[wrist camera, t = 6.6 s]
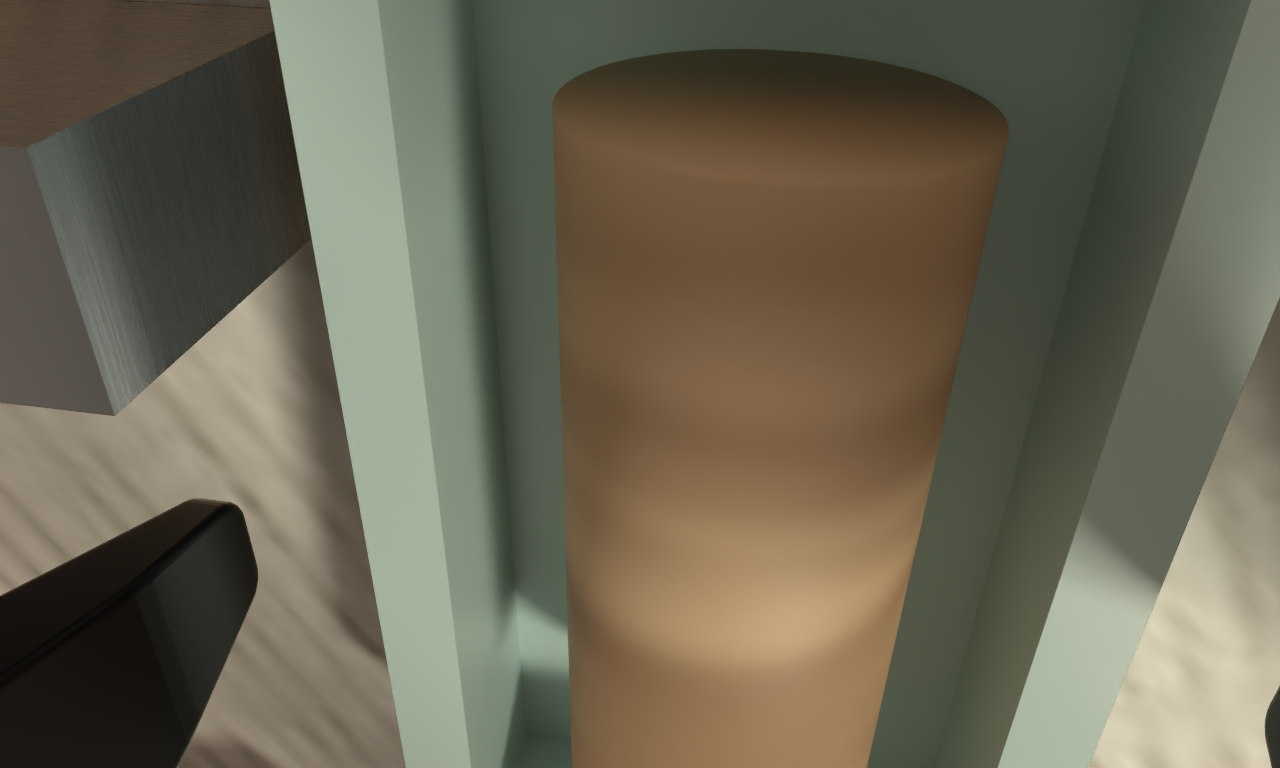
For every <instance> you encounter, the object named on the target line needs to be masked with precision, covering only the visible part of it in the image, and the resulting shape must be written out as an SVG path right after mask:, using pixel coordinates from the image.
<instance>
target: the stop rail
mask: <svg viewBox="0 0 1280 768" xmlns="http://www.w3.org/2000/svg"><path fill="white" fill-rule="evenodd" d="M310 239H312V237H311V232H310V226H309V220H308V215H307V209H306V204H305V198H304V192H303V187H302V181H301V175H300V170H299V164H298V159H297V153H296V147H295V142H294V136H293V130H292V125H291V119H290V114H289V108H288V102H287V97H286V91H285V85H284V80H283V74H282V68H281V63H280V57H279V52H278V46H277V40H276V35H275V29H274V23H273V18H272V12H271V9H267V8H249V7H231V6H213V5H195V4H176V3H158V2H140V1H122V0H0V402H1V403H9V404H18V405H26V406H35V407H43V408H52V409H60V410H69V411H77V412H86V413H94V414H103V415H111V416H115V415H116V414H117V413H119V412H120V411H121V410H122V409H123V408H124V407H125V406H126V405H127V404H129V403H130V402H131V401H132V400H133V399H134V398H135V397H136V396H137V395H139V394H140V393H141V392H142V391H143V390H144V389H145V388H146V387H147V386H148V385H150V384H151V383H152V382H153V381H154V380H155V379H156V378H157V377H158V376H160V375H161V374H162V373H163V372H164V371H165V370H166V369H167V368H168V367H170V366H171V365H172V364H173V363H174V362H175V361H176V360H177V359H178V358H180V357H181V356H182V355H183V354H184V353H185V352H186V351H187V350H188V349H190V348H191V347H192V346H193V345H194V344H195V343H196V342H197V341H198V340H200V339H201V338H202V337H203V336H204V335H205V334H206V333H207V332H208V331H209V330H211V329H212V328H213V327H214V326H215V325H216V324H217V323H218V322H219V321H221V320H222V319H223V318H224V317H225V316H226V315H227V314H228V313H229V312H231V311H232V310H233V309H234V308H235V307H236V306H237V305H238V304H239V303H241V302H242V301H243V300H244V299H245V298H246V297H247V296H248V295H249V294H251V293H252V292H253V291H254V290H255V289H256V288H257V287H258V286H259V285H261V284H262V283H263V282H264V281H265V280H266V279H267V278H268V277H269V276H270V275H272V274H273V273H274V272H275V271H276V270H277V269H278V268H279V267H280V266H282V265H283V264H284V263H285V262H286V261H287V260H288V259H289V258H290V257H292V256H293V255H294V254H295V253H296V252H297V251H298V250H299V249H300V248H302V247H303V246H304V245H305V244H306V243H307V242H308V241H309V240H310Z"/></svg>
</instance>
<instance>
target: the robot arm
mask: <svg viewBox="0 0 1280 768" xmlns="http://www.w3.org/2000/svg"><path fill="white" fill-rule="evenodd" d="M257 583H258V569H257V564H256V560H255V556H254V552H253V549H252V545H251V541H250V537H249V533H248V529H247V526H246V522H245V518H244V515H243V512H242V511H241V509H240V508H239V507H238V506H237V505H235V504H233V503H231V502H225V501H217V500H209V499H201V498H200V499H191V500H188V501H186V502H183V503H181V504H179V505H177V506H176V507H174V508H172V509H170V510H168V511H166V512H164V513H162V514H160V515H158V516H156V517H154V518H152V519H150V520H148V521H146V522H144V523H142V524H140V525H138V526H136V527H134V528H132V529H130V530H129V531H127V532H125V533H123V534H121V535H119V536H117V537H115V538H113V539H111V540H109V541H107V542H105V543H103V544H101V545H99V546H97V547H95V548H93V549H91V550H89V551H87V552H85V553H84V554H82V555H80V556H78V557H76V558H74V559H72V560H70V561H68V562H66V563H64V564H62V565H60V566H58V567H56V568H54V569H52V570H50V571H48V572H46V573H44V574H42V575H40V576H38V577H37V578H35V579H33V580H31V581H29V582H27V583H25V584H23V585H21V586H19V587H17V588H15V589H13V590H11V591H9V592H7V593H5V594H3V595H1V596H0V768H176V767H177V765H178V763H179V761H180V759H181V757H182V756H183V754H184V752H185V750H186V748H187V746H188V744H189V742H190V740H191V738H192V736H193V734H194V732H195V730H196V728H197V725H198V723H199V721H200V719H201V717H202V715H203V712H204V710H205V708H206V705H207V703H208V701H209V699H210V696H211V694H212V692H213V690H214V687H215V685H216V683H217V680H218V678H219V676H220V674H221V671H222V669H223V667H224V664H225V662H226V660H227V658H228V655H229V653H230V651H231V648H232V646H233V644H234V642H235V639H236V637H237V635H238V633H239V630H240V628H241V626H242V623H243V621H244V619H245V617H246V614H247V612H248V610H249V607H250V605H251V603H252V601H253V598H254V595H255V593H256V589H257ZM1265 737H1266V743H1267V748H1268V752H1269V757H1270V761H1271V766H1272V768H1280V686H1279V688H1278V690H1277V692H1276V694H1275V696H1274V698H1273V700H1272V701H1271V703H1270V705H1269V708H1268V710H1267V714H1266V719H1265Z"/></svg>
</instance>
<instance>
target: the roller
mask: <svg viewBox="0 0 1280 768" xmlns="http://www.w3.org/2000/svg"><path fill="white" fill-rule="evenodd" d="M552 110H553V144H554V179H555V213H556V247H557V281H558V315H559V349H560V383H561V418H562V452H563V486H564V520H565V554H566V588H567V622H568V656H569V691H570V725H571V759H572V768H867V765H868V760H869V756H870V751H871V747H872V742H873V738H874V733H875V729H876V724H877V720H878V716H879V711H880V707H881V702H882V698H883V693H884V689H885V684H886V680H887V675H888V671H889V666H890V662H891V658H892V653H893V649H894V644H895V640H896V635H897V631H898V626H899V622H900V617H901V613H902V608H903V604H904V600H905V595H906V591H907V586H908V582H909V577H910V573H911V568H912V564H913V559H914V555H915V550H916V546H917V542H918V537H919V533H920V528H921V524H922V519H923V515H924V510H925V506H926V501H927V497H928V492H929V488H930V484H931V479H932V475H933V470H934V466H935V461H936V457H937V452H938V448H939V443H940V439H941V434H942V430H943V426H944V421H945V417H946V412H947V408H948V403H949V399H950V394H951V390H952V385H953V381H954V376H955V372H956V368H957V363H958V359H959V354H960V350H961V345H962V341H963V336H964V332H965V327H966V323H967V319H968V314H969V310H970V305H971V301H972V296H973V292H974V287H975V283H976V278H977V274H978V269H979V265H980V261H981V256H982V252H983V247H984V243H985V238H986V234H987V229H988V225H989V220H990V216H991V211H992V207H993V203H994V198H995V194H996V189H997V185H998V180H999V176H1000V171H1001V167H1002V162H1003V158H1004V153H1005V149H1006V145H1007V140H1008V136H1009V126H1008V122H1007V120H1006V118H1005V116H1004V115H1003V113H1002V112H1001V111H1000V110H999V109H998V108H997V107H996V106H995V105H993V104H992V103H991V102H989V101H988V100H986V99H985V98H984V97H982V96H980V95H978V94H976V93H975V92H973V91H971V90H969V89H967V88H965V87H962V86H960V85H958V84H955V83H953V82H950V81H948V80H945V79H942V78H939V77H936V76H933V75H930V74H926V73H923V72H919V71H916V70H913V69H908V68H904V67H900V66H896V65H892V64H887V63H882V62H876V61H871V60H866V59H860V58H853V57H847V56H840V55H831V54H823V53H813V52H798V51H781V50H765V49H713V50H694V51H682V52H671V53H663V54H655V55H648V56H643V57H637V58H631V59H627V60H623V61H618V62H614V63H611V64H607V65H604V66H601V67H597V68H595V69H592V70H590V71H587V72H585V73H582V74H580V75H579V76H577V77H575V78H573V79H571V80H570V81H568V82H567V83H566V84H565V85H563V86H562V87H561V88H560V89H559V91H558V92H557V93H556V95H555V97H554V100H553V103H552Z"/></svg>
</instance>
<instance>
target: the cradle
mask: <svg viewBox="0 0 1280 768" xmlns="http://www.w3.org/2000/svg"><path fill="white" fill-rule="evenodd" d="M269 1H270V7H271V12H272V18H273V23H274V29H275V35H276V40H277V46H278V52H279V57H280V63H281V68H282V74H283V80H284V85H285V91H286V97H287V102H288V108H289V114H290V119H291V125H292V130H293V136H294V142H295V147H296V153H297V159H298V164H299V170H300V175H301V181H302V187H303V192H304V198H305V204H306V209H307V215H308V220H309V226H310V232H311V237H312V243H313V249H314V254H315V260H316V265H317V271H318V277H319V282H320V288H321V294H322V299H323V305H324V310H325V316H326V322H327V327H328V333H329V339H330V344H331V350H332V356H333V361H334V367H335V372H336V378H337V384H338V389H339V395H340V401H341V406H342V412H343V417H344V423H345V429H346V434H347V440H348V446H349V451H350V457H351V462H352V468H353V474H354V479H355V485H356V491H357V496H358V502H359V507H360V513H361V519H362V524H363V530H364V536H365V541H366V547H367V553H368V558H369V564H370V569H371V575H372V581H373V586H374V592H375V598H376V603H377V609H378V614H379V620H380V626H381V631H382V637H383V643H384V648H385V654H386V659H387V665H388V671H389V676H390V682H391V688H392V693H393V699H394V704H395V710H396V716H397V721H398V727H399V733H400V738H401V744H402V750H403V755H404V761H405V766H406V768H572V759H571V725H570V691H569V656H568V622H567V588H566V554H565V520H564V486H563V452H562V418H561V383H560V349H559V315H558V281H557V247H556V213H555V179H554V144H553V110H552V103H553V100H554V97H555V95H556V93H557V92H558V91H559V89H560V88H561V87H562V86H563V85H565V84H566V83H567V82H568V81H570V80H571V79H573V78H575V77H577V76H579V75H580V74H582V73H585V72H587V71H590V70H592V69H595V68H597V67H601V66H604V65H607V64H611V63H614V62H618V61H623V60H627V59H631V58H637V57H643V56H648V55H655V54H663V53H671V52H682V51H694V50H713V49H765V50H781V51H798V52H813V53H823V54H831V55H840V56H847V57H853V58H860V59H866V60H871V61H876V62H882V63H887V64H892V65H896V66H900V67H904V68H908V69H913V70H916V71H919V72H923V73H926V74H930V75H933V76H936V77H939V78H942V79H945V80H948V81H950V82H953V83H955V84H958V85H960V86H962V87H965V88H967V89H969V90H971V91H973V92H975V93H976V94H978V95H980V96H982V97H984V98H985V99H986V100H988V101H989V102H991V103H992V104H993V105H995V106H996V107H997V108H998V109H999V110H1000V111H1001V112H1002V113H1003V115H1004V116H1005V118H1006V120H1007V122H1008V126H1009V136H1008V140H1007V145H1006V149H1005V153H1004V158H1003V162H1002V167H1001V171H1000V176H999V180H998V185H997V189H996V194H995V198H994V203H993V207H992V211H991V216H990V220H989V225H988V229H987V234H986V238H985V243H984V247H983V252H982V256H981V261H980V265H979V269H978V274H977V278H976V283H975V287H974V292H973V296H972V301H971V305H970V310H969V314H968V319H967V323H966V327H965V332H964V336H963V341H962V345H961V350H960V354H959V359H958V363H957V368H956V372H955V376H954V381H953V385H952V390H951V394H950V399H949V403H948V408H947V412H946V417H945V421H944V426H943V430H942V434H941V439H940V443H939V448H938V452H937V457H936V461H935V466H934V470H933V475H932V479H931V484H930V488H929V492H928V497H927V501H926V506H925V510H924V515H923V519H922V524H921V528H920V533H919V537H918V542H917V546H916V550H915V555H914V559H913V564H912V568H911V573H910V577H909V582H908V586H907V591H906V595H905V600H904V604H903V608H902V613H901V617H900V622H899V626H898V631H897V635H896V640H895V644H894V649H893V653H892V658H891V662H890V666H889V671H888V675H887V680H886V684H885V689H884V693H883V698H882V702H881V707H880V711H879V716H878V720H877V724H876V729H875V733H874V738H873V742H872V747H871V751H870V756H869V760H868V765H867V768H1088V766H1089V763H1090V761H1091V759H1092V756H1093V754H1094V751H1095V749H1096V746H1097V744H1098V741H1099V739H1100V737H1101V734H1102V732H1103V729H1104V727H1105V724H1106V722H1107V719H1108V717H1109V714H1110V712H1111V710H1112V707H1113V705H1114V702H1115V700H1116V697H1117V695H1118V692H1119V690H1120V687H1121V685H1122V683H1123V680H1124V678H1125V675H1126V673H1127V670H1128V668H1129V665H1130V663H1131V661H1132V658H1133V656H1134V653H1135V651H1136V648H1137V646H1138V643H1139V641H1140V638H1141V636H1142V634H1143V631H1144V629H1145V626H1146V624H1147V621H1148V619H1149V616H1150V614H1151V612H1152V609H1153V607H1154V604H1155V602H1156V599H1157V597H1158V594H1159V592H1160V589H1161V587H1162V585H1163V582H1164V580H1165V577H1166V575H1167V572H1168V570H1169V567H1170V565H1171V562H1172V560H1173V558H1174V555H1175V553H1176V550H1177V548H1178V545H1179V543H1180V540H1181V538H1182V536H1183V533H1184V531H1185V528H1186V526H1187V523H1188V521H1189V518H1190V516H1191V513H1192V511H1193V509H1194V506H1195V504H1196V501H1197V499H1198V496H1199V494H1200V491H1201V489H1202V486H1203V484H1204V482H1205V479H1206V477H1207V474H1208V472H1209V469H1210V467H1211V464H1212V462H1213V460H1214V457H1215V455H1216V452H1217V450H1218V447H1219V445H1220V442H1221V440H1222V437H1223V435H1224V433H1225V430H1226V428H1227V425H1228V423H1229V420H1230V418H1231V415H1232V413H1233V411H1234V408H1235V406H1236V403H1237V401H1238V398H1239V396H1240V393H1241V391H1242V388H1243V386H1244V384H1245V381H1246V379H1247V376H1248V374H1249V371H1250V369H1251V366H1252V364H1253V361H1254V359H1255V357H1256V354H1257V352H1258V349H1259V347H1260V344H1261V342H1262V339H1263V337H1264V335H1265V332H1266V330H1267V327H1268V325H1269V322H1270V320H1271V317H1272V315H1273V312H1274V310H1275V308H1276V305H1277V303H1278V300H1279V298H1280V0H269Z"/></svg>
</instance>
